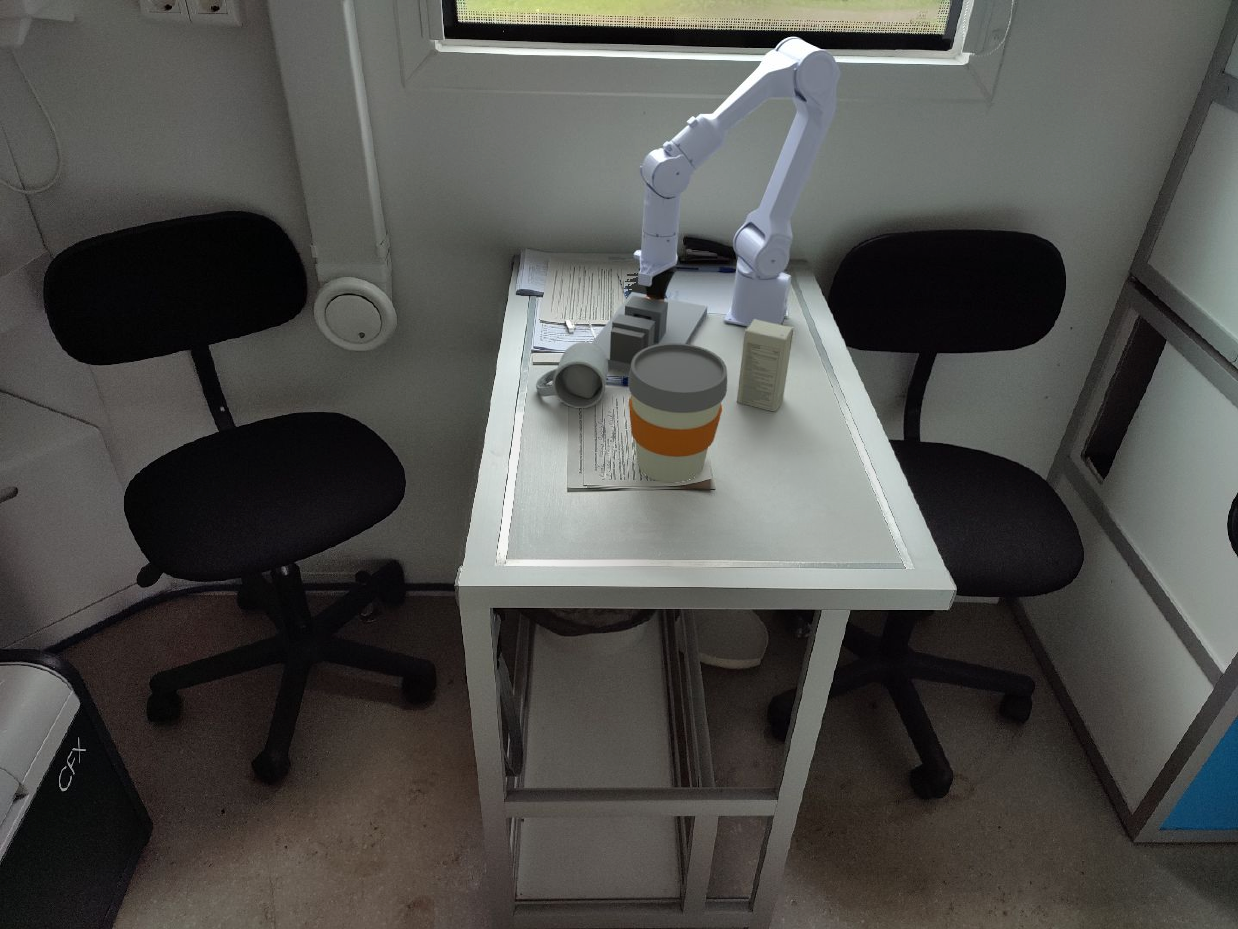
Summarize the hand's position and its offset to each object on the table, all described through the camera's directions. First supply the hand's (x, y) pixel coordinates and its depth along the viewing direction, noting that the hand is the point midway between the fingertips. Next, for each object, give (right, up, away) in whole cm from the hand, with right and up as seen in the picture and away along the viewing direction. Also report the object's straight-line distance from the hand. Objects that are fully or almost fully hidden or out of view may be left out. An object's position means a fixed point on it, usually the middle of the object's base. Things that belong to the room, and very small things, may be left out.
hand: (654, 307), depth 144 cm
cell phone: (-2, +6, +15) cm, 17 cm away
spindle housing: (-1, -5, 0) cm, 5 cm away
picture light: (-13, -3, +2) cm, 13 cm away
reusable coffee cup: (+1, -26, -27) cm, 38 cm away
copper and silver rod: (-2, -5, -4) cm, 7 cm away
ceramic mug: (-13, -16, -15) cm, 25 cm away
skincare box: (+15, -17, -14) cm, 27 cm away
